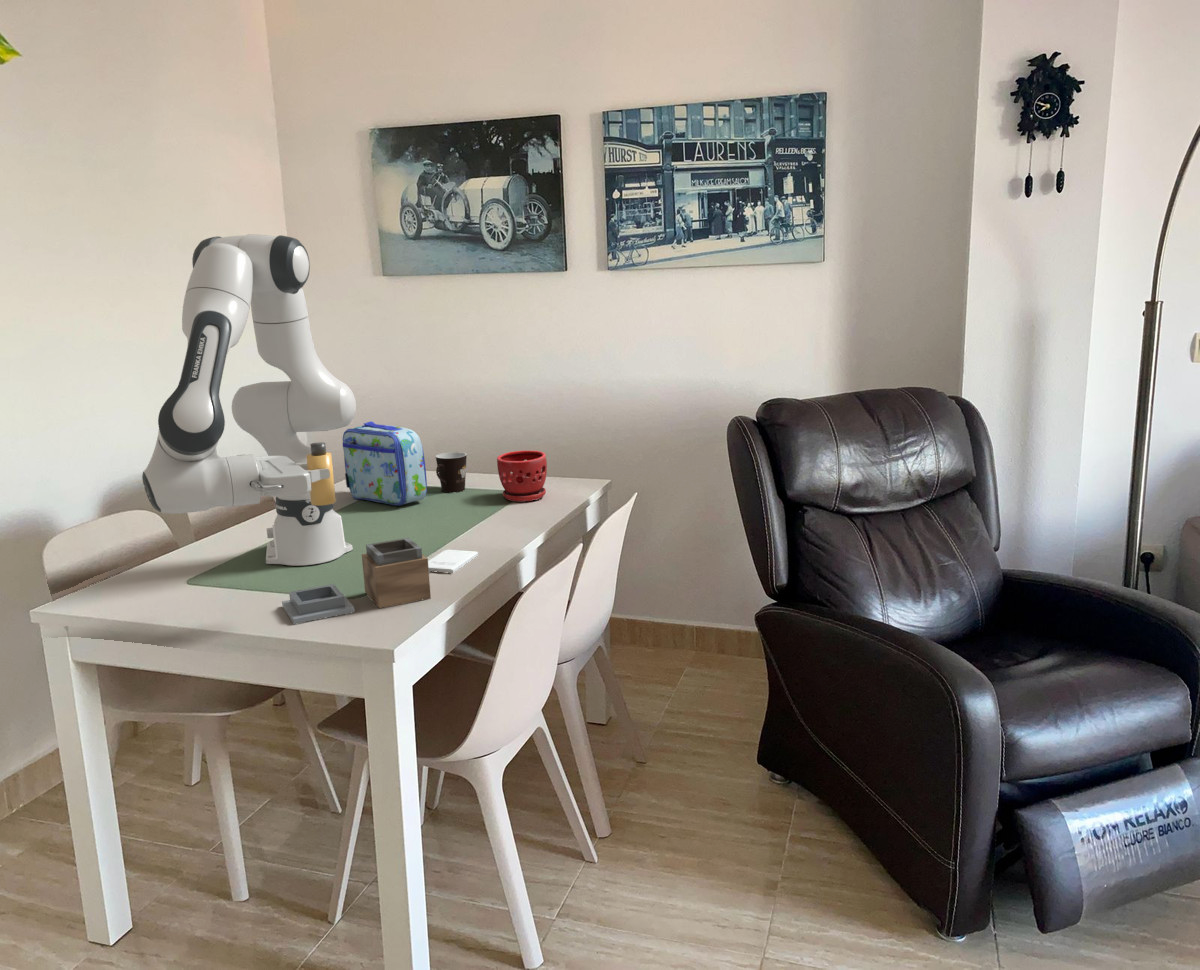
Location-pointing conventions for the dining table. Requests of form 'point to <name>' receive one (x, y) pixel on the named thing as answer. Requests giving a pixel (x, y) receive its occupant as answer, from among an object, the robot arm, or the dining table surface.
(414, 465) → the lunch box
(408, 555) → the walnut stand
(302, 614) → the low socket
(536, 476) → the plant pot
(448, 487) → the coffee mug
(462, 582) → the dining table surface
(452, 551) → the external hard drive
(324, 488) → the yellow bottle
